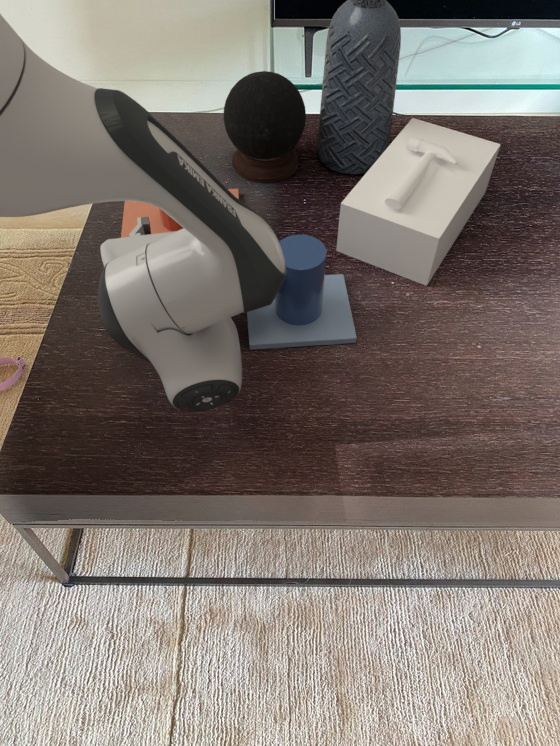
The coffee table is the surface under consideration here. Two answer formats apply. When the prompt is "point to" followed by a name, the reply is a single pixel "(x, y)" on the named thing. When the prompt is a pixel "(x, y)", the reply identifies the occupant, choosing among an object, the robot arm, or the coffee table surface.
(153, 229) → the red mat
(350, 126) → the vase
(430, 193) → the hammer relief block
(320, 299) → the navy blue cylinder
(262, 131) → the black ball on stand
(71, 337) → the coffee table surface
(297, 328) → the blue mat
